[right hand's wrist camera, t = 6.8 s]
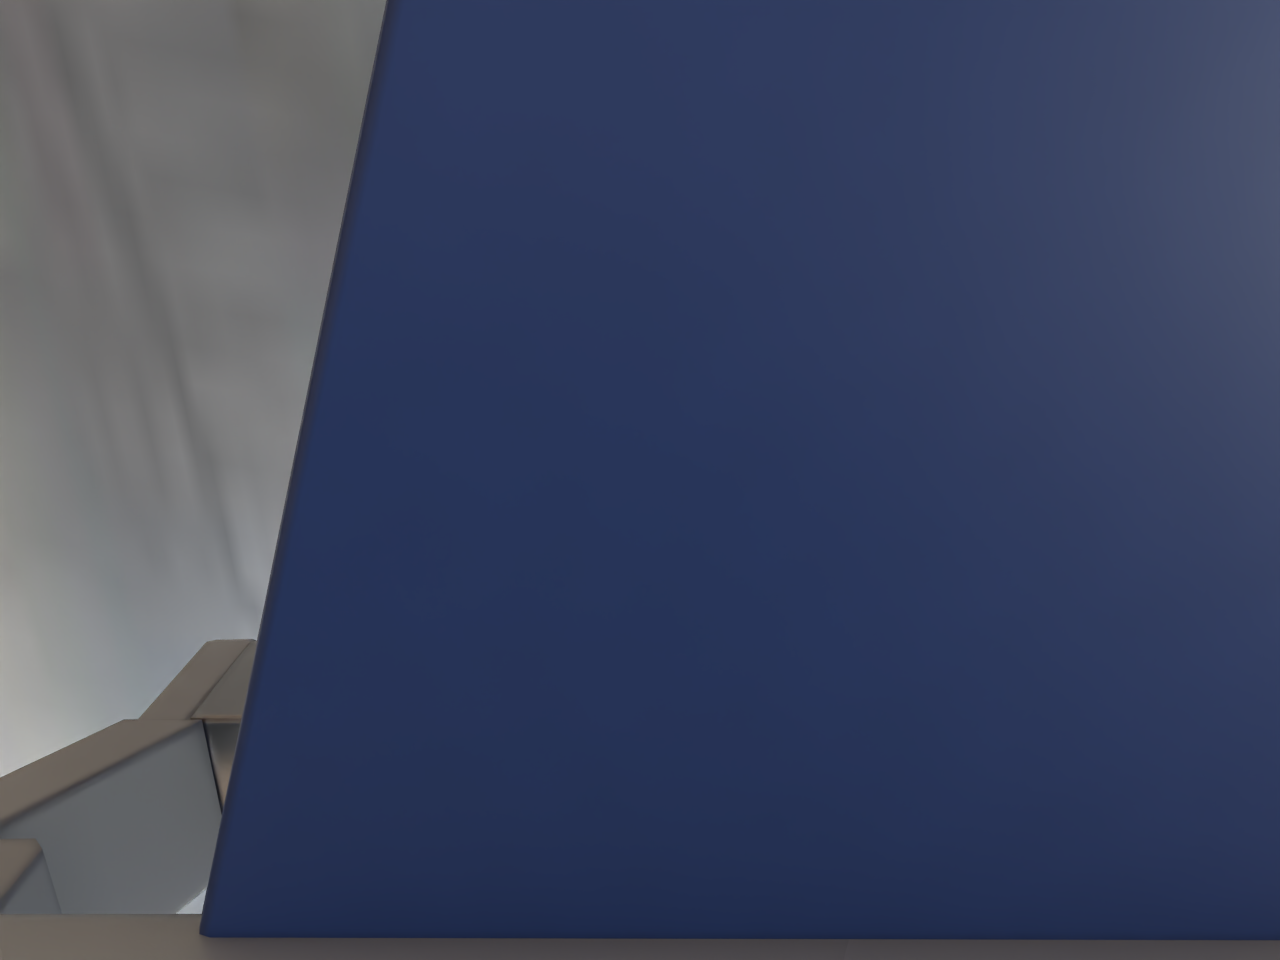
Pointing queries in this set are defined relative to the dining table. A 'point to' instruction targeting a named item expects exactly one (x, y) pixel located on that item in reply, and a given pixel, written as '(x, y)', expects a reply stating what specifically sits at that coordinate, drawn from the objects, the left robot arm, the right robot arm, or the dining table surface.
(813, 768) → the box
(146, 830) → the right robot arm
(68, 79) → the dining table surface
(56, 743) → the dining table surface
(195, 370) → the dining table surface
